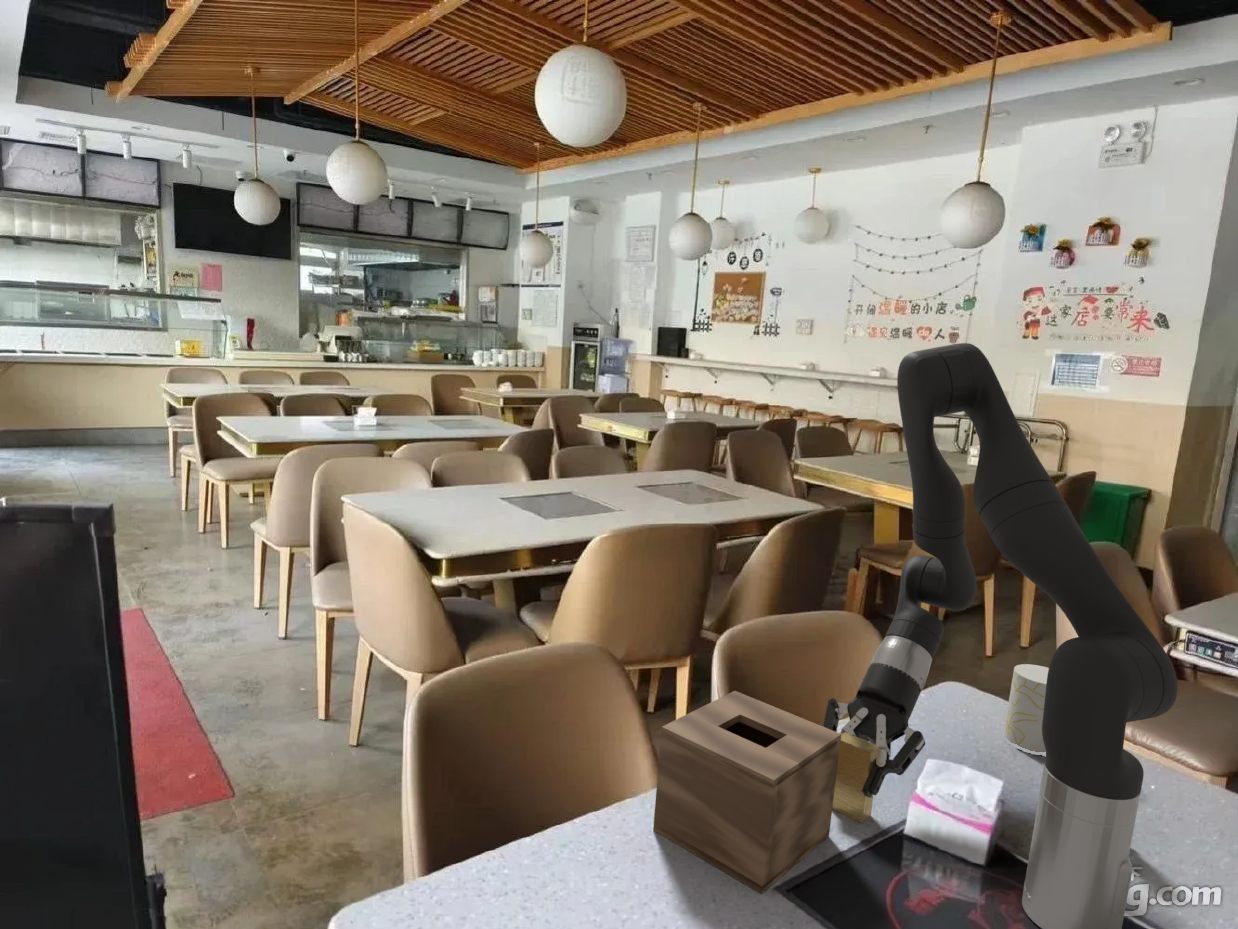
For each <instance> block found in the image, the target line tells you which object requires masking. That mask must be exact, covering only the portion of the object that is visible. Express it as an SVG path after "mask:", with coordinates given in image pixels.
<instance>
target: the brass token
mask: <svg viewBox="0 0 1238 929" xmlns="http://www.w3.org/2000/svg"><path fill="white" fill-rule="evenodd" d="M879 749H880V746H878V745H875V744H873V743H871V742H869V741H866V740H863V739H861V738H858V737H856V736H853V735H851V734H848V733H846V732H845V733H843V734H842V735H841V741H840V750H839V758H838V766H837V774H836V782H835V791H834V799H833V807H832V810H834V811H836V812H838V813H840V814H842V815H845V817H846V816H847V817H849V818H850V819H853V820H855V821H856V822H859V823H861V824H863V823H864V822H865V821H866V820H867V819H868V818H870V817H871V816H872V809H873V804H874V803H873V802H874V795H872V797H871V798H869V797H867V796H865V795H864V793H863V792H862V789H863V786H864V784H865V782H866V780H867V777H868V776H869V774H870V772H871V769H872V767H873V765H874V766H875V765H876V757H877V755H878V753H879Z"/></svg>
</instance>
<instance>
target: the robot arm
mask: <svg viewBox="0 0 1238 929" xmlns="http://www.w3.org/2000/svg"><path fill="white" fill-rule="evenodd" d="M897 370H898V371H897V378H896V379H897V380H896V381H897V382H896V383H897V385H896V386H897V396H898V404H899V410H900V416H901V423H902V429H903V431H902V432H903V437H904V442H905V448H906V449H905V450H906V454H907V459H908V466H909V472H910V476H911V486H912V487H911V488H912V537H913V538H912V539H913V542H914V544H915V545H916V547H918V548H919V549H920V550H921V551H924V552H926V553H927V554H929V555H931V556H929V555H923V554H917V555H915V556H912V557H911V558H909V559H908V560H907V561H906V562H905V563H904V565H903V567H902V570H901V574H900V582H899V591H898V599H897V604H896V609H895V612H894V616H893V619H892V620H891V623H890V625H889V628H888V629H887V631H886V632H885V636H884V638H883V640H882V641H881V643H880V645H879V646H878V647H877V649H876V651H875V653H874V654H873V658H872V660H871V661H870V663H869V666H868V667H867V670H866V671H865V674H864V676H863V679H862V681H861V682H860V685H859V687H858V690H857V692H856V695H855V697H854V698H853V699H851V700H850V701H849V702H848V703H845V702H838V701H837V700H836V698H830V699H828V701H827V706H826V709H825V710H826V712H825V715H824V721H823V725H822V726H823V727H825V728H828V729H830V730H833V731H835V732H837V731H838V726H839V722H840V720H842V719H843V718H844V717H845V715H846V714H848V719H849V721H848V722H846V724H845V725H844V726H842V728H841V731H840V732H839V733H840V734H841V735H842V734H843V733H845V732H846V733H848V734H851V735H853V736H856V737H858V738H861V739H863V740H866V741H868V742H871V743H873V744H875V745H878V746H880V749H879V753H878V755H877V757H876V765H875V766H874V765H873V767H872V769H871V772H870V774H869V776H868V777H867V780H866V782H865V784H864V786H863V789H862V792H863V793H864V795H865V796H867V797H869V798H871V797H872V795H873V796H876V795H878V794H879V792H880V789H881V787H882V785H883V782H884V780H885V778H886V776H887V775H888V774H896V775H897V776H903V775H904V773H906V771H907V769H908V768H909V767H910V766H911V764H912V763H913V762H914V760H915V759H916V758H917V757H918V755H919V753H920V752H921V751H922V750H923V748H924V747H925V746H926V741H925V738H924V735H923V733H922V732H921V731H919V730H914V729H913V728H911V727H909V720H910V717H911V716H912V714H913V711H914V709H915V706H916V704H917V701H918V699H919V696H920V695H921V693H922V690H923V688H925V686H926V683H927V678H928V676H929V672H930V668H931V664H932V662H933V659H934V657H935V654H936V652H937V650H938V649H939V648H938V647H939V645H940V643H941V641H942V639H943V636H944V632H945V631H944V630H945V627H944V624H943V621H941V619H940V618H939V617H938V616H936V615H935V614H934V613H932V612H930V610H929V611H928V610H927V609H925V608H924V607H921V606H920V604H921V603H923V604H927V605H930V606H934V607H937V608H939V609H945V610H949V611H951V612H962V611H964V610H966V609H967V608H969V607H970V606H971V605H972V603H973V602H974V600H975V598H976V596H977V592H978V591H977V589H978V584H977V582H978V581H977V575H976V571H975V568H974V565H973V562H972V559H971V556H970V553H969V548H968V545H967V541H966V535H965V533H966V532H965V531H966V529H965V528H966V526H965V525H966V497H965V492H964V490H963V486H962V484H961V482H960V480H959V478H958V477H957V475H956V473H955V472H954V471H953V469H952V468H951V466H950V465H949V464H948V462H947V460H946V459H945V458H944V457H943V454H942V453H941V451H940V450H939V448H938V445H937V443H936V439H935V434H934V422H935V418H937V417H940V416H948V415H951V414H956V413H962V412H964V413H965V414H966V416H968V417H969V419H970V421H971V422H972V425H973V427H974V428H975V431H976V434H977V437H978V441H979V453H978V460H977V465H976V470H975V476H974V481H973V482H974V484H973V502H974V505H975V506H974V507H975V509H976V511H977V513H978V515H979V517H980V519H981V520H982V523H983V524H984V527H985V528H986V530H987V533H988V534H989V536H990V538H991V540H992V542H993V543H994V544H995V547H996V548H997V550H998V551H999V552H1000V554H1001V555H1002V556H1003V557H1004V558H1005V559H1006V560H1007V561H1008V562H1009V563H1010V564H1011V565H1012V566H1013V567H1014V568H1015V569H1017V570H1018V571H1019V572H1020V573H1021V574H1023V575H1024V576H1025V577H1026V578H1027V580H1030V581H1031V582H1032V583H1033V584H1034V585H1035V586H1037V587H1038V588H1039V589H1040V590H1041V591H1043V592H1044V593H1045V594H1046V595H1047V596H1048V597H1049V598H1050V599H1051V600H1052V601H1054V603H1055V604H1056V606H1058V607H1059V608H1060V610H1061V611H1062V612H1063V614H1064V615H1065V617H1066V618H1067V620H1068V621H1069V623H1070V624H1071V626H1072V628H1073V629H1074V631H1075V633H1076V635H1077V636H1078V637H1073V638H1069V639H1067V640H1066V641H1064V642H1062V643H1061V644H1060V645H1059V646H1058V647H1057V648H1056V650H1055V651H1054V654H1053V656H1052V657H1051V660H1050V663H1049V667H1048V668H1049V670H1048V676H1047V683H1046V692H1045V702H1044V712H1043V721H1042V736H1043V742H1044V745H1045V749H1046V757H1045V756H1044V766H1043V769H1042V770H1043V771H1042V777H1041V783H1040V789H1039V794H1038V801H1037V807H1036V812H1035V819H1034V825H1033V831H1032V837H1031V843H1030V848H1029V849H1030V850H1029V855H1028V862H1027V865H1026V866H1027V867H1026V874H1025V880H1024V883H1023V890H1022V891H1023V892H1022V898H1021V905H1022V907H1023V908H1022V909H1023V910H1024V912H1025V913H1026V915H1027V917H1028V918H1030V920H1032V922H1033V923H1034V924H1035V925H1037V926H1038V927H1039V928H1040V929H1123V924H1124V923H1123V922H1124V917H1125V913H1126V906H1127V901H1128V897H1129V892H1130V885H1131V880H1132V875H1133V868H1134V867H1133V865H1132V862H1131V859H1130V852H1131V851H1130V850H1131V844H1132V841H1133V840H1132V839H1133V834H1134V830H1135V825H1136V824H1135V823H1136V818H1137V815H1138V814H1137V812H1138V808H1139V802H1140V797H1141V791H1142V787H1143V781H1144V773H1145V772H1144V768H1143V765H1142V764H1141V762H1140V760H1139V759H1138V758H1137V757H1136V756H1135V755H1134V754H1133V753H1131V752H1129V751H1128V750H1127V749H1124V745H1125V744H1124V742H1125V734H1126V727H1127V723H1130V722H1136V721H1142V720H1148V719H1153V718H1157V717H1160V716H1162V715H1164V714H1166V713H1167V712H1169V711H1170V709H1172V707H1173V706H1174V705H1175V702H1176V699H1177V696H1178V689H1179V688H1178V678H1177V674H1176V672H1175V668H1174V666H1173V663H1172V662H1171V659H1170V658H1169V655H1168V653H1167V652H1166V651H1165V649H1164V648H1163V646H1162V645H1161V644H1160V642H1159V641H1158V639H1157V638H1156V636H1155V635H1154V634H1153V632H1152V631H1151V630H1150V628H1149V627H1148V626H1147V625H1146V623H1145V621H1144V620H1143V619H1142V618H1141V617H1140V615H1139V613H1137V611H1136V610H1135V609H1134V608H1133V606H1132V604H1131V603H1130V602H1129V601H1128V600H1127V598H1126V597H1125V596H1124V594H1123V593H1122V591H1121V589H1119V587H1118V585H1117V584H1116V583H1115V581H1114V579H1113V578H1112V577H1111V575H1110V574H1109V572H1108V570H1107V569H1106V568H1105V565H1104V564H1103V562H1102V561H1101V558H1100V557H1099V555H1098V554H1097V552H1096V551H1095V550H1094V547H1092V544H1091V543H1090V542H1089V540H1088V538H1087V537H1086V535H1085V534H1084V532H1083V529H1082V528H1081V527H1080V525H1079V524H1078V522H1077V520H1076V518H1075V517H1074V514H1073V513H1072V511H1071V509H1070V506H1068V504H1067V502H1066V500H1065V498H1064V497H1063V495H1062V494H1061V492H1060V490H1059V489H1058V487H1057V485H1056V484H1055V482H1054V481H1053V479H1052V477H1051V476H1050V475H1049V473H1048V472H1047V470H1046V468H1045V467H1044V466H1043V464H1042V462H1041V461H1040V459H1039V457H1038V456H1037V454H1036V452H1035V450H1034V448H1033V447H1032V445H1031V443H1030V441H1029V439H1028V438H1027V436H1026V435H1025V433H1024V431H1023V429H1022V428H1021V426H1020V423H1019V422H1018V420H1017V418H1016V415H1015V414H1014V412H1013V410H1012V407H1011V405H1010V402H1009V401H1008V399H1007V397H1006V395H1005V392H1004V390H1003V388H1002V385H1001V383H1000V381H999V379H998V377H997V375H996V373H995V370H994V369H993V367H992V365H991V363H990V361H989V359H988V357H986V354H984V352H983V351H982V350H981V349H980V348H979V347H977V346H976V345H974V344H973V343H968V342H963V343H962V342H961V343H952V344H948V345H943V346H942V345H941V346H938V347H937V346H936V347H931V348H927V349H920V350H916V351H912V352H909V353H908V354H906V355H905V356H903V357H902V360H901V361H900V363H899V366H898V369H897ZM837 733H838V732H837ZM903 736H904V738H903V740H904V744H903V745H902V747H901V748H900V749H899V750H898V752H897V753H896V755H895V756H894V757H893V758H892V759H891V756H892V743H893V742H895V741H897V740H898V739H900V738H901V737H903Z"/></svg>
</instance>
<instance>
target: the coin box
mask: <svg viewBox="0 0 1238 929" xmlns="http://www.w3.org/2000/svg"><path fill="white" fill-rule="evenodd" d="M660 731H661V732H660V742H659V743H660V745H659V758H658V768H657V778H656V780H657V782H656V791H655V805H654V817H653V827H652V829H653V831H654V832H655V833H657V834H658V835H660V836H662V837H664V838H666V839H667V840H668V841H671V842H672V843H674V844H675V845H677V846H679V847H681V848H682V849H685V851H687V852H689V853H691V854H692V855H694V856H696V857H697V858H699V859H701V860H702V861H705V862H706V863H708V864H710V865H711V866H713V867H715V868H716V869H718V870H720V872H721V871H722V872H723V873H725V874H727V875H728V876H730V877H731V878H734V879H735V880H736V881H738V882H740V883H742V884H744V885H746V886H747V887H748V888H750V889H752V890H754V891H755V892H757V893H759V894H760V895H762V894H763V893H765V892H766V891H767V890H768V889H769V888H770V887H772V886H773V885H774V884H775V883H777V882H778V881H779V880H780V879H781V878H782V877H783V876H784V875H786V874H787V873H788V872H789V871H790V870H792V869H793V868H794V867H795V866H796V865H797V864H798V863H800V862H801V861H802V860H803V859H804V858H805V857H806V856H808V855H809V854H810V853H812V852H813V851H814V850H815V849H816V848H817V847H818V846H819V845H820V844H822V843H823V842H824V841H825V840H826V839H827V838H828V837H830V830H831V822H832V815H833V813H832V812H833V809H832V807H833V799H834V791H835V782H836V774H837V766H838V758H839V750H840V741H841V734H840V732H835V731H833V730H830V729H828V728H825V727H823V725H820V724H818V723H815V722H813V721H810V720H808V719H805V718H803V717H800V716H797V715H795V714H793V713H791V712H788V711H786V710H783V709H782V708H781V709H780V708H778V707H775V706H773V705H771V704H768V703H766V702H764V701H762V700H759V699H756V698H755V697H751V696H749V695H747V694H744V693H742V692H740V691H736V690H734V691H732V692H730V693H727V694H726V695H723V696H722V697H719V698H717V699H715V700H713V701H711V702H709V703H707V704H705V705H703V706H701V707H699V708H697V709H695V710H693V711H691V712H688V713H686V714H685V715H683V716H681V717H679V718H677V719H675V720H672V721H671V722H669V723H667V724H665V725H662V726H661V730H660Z"/></svg>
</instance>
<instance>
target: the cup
mask: <svg viewBox="0 0 1238 929" xmlns="http://www.w3.org/2000/svg"><path fill="white" fill-rule="evenodd" d="M1048 670H1049V667H1047V666H1044V665H1043V666H1042V665H1037V664H1028V663H1024V664H1023V663H1022V664H1017V665H1015V666H1014V667H1013V674H1012V679H1011V686H1010V692H1009V693H1010V694H1009V698H1008V705H1007V712H1006V719H1005V724H1004V730H1003V736H1004V735H1005V737H1006V738H1007V739H1008V740H1009V741H1010V742H1011V743H1014V744H1017V745H1018V746H1020V747H1022V748H1025V749H1028V750H1030V751H1035V752H1046V749H1045V745H1044V742H1043V736H1042V721H1043V712H1044V702H1045V692H1046V683H1047V676H1048Z"/></svg>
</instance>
